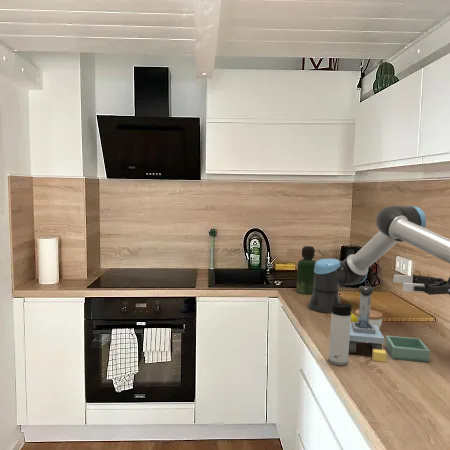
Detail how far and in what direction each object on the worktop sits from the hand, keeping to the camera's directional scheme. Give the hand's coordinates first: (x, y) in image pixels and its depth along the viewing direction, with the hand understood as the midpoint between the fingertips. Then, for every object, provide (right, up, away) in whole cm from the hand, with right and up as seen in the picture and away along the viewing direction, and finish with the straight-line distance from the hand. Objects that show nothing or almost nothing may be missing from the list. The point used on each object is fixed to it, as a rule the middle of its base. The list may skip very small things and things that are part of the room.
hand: (397, 282), depth 150 cm
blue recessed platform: (-11, -25, +4) cm, 27 cm away
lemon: (-11, -23, +21) cm, 33 cm away
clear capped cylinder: (-11, -18, +4) cm, 21 cm away
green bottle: (-17, -17, +83) cm, 86 cm away
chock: (-9, -26, -5) cm, 27 cm away
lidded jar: (-3, -23, +23) cm, 33 cm away
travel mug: (-23, -26, -8) cm, 36 cm away
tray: (+3, -25, +1) cm, 26 cm away
